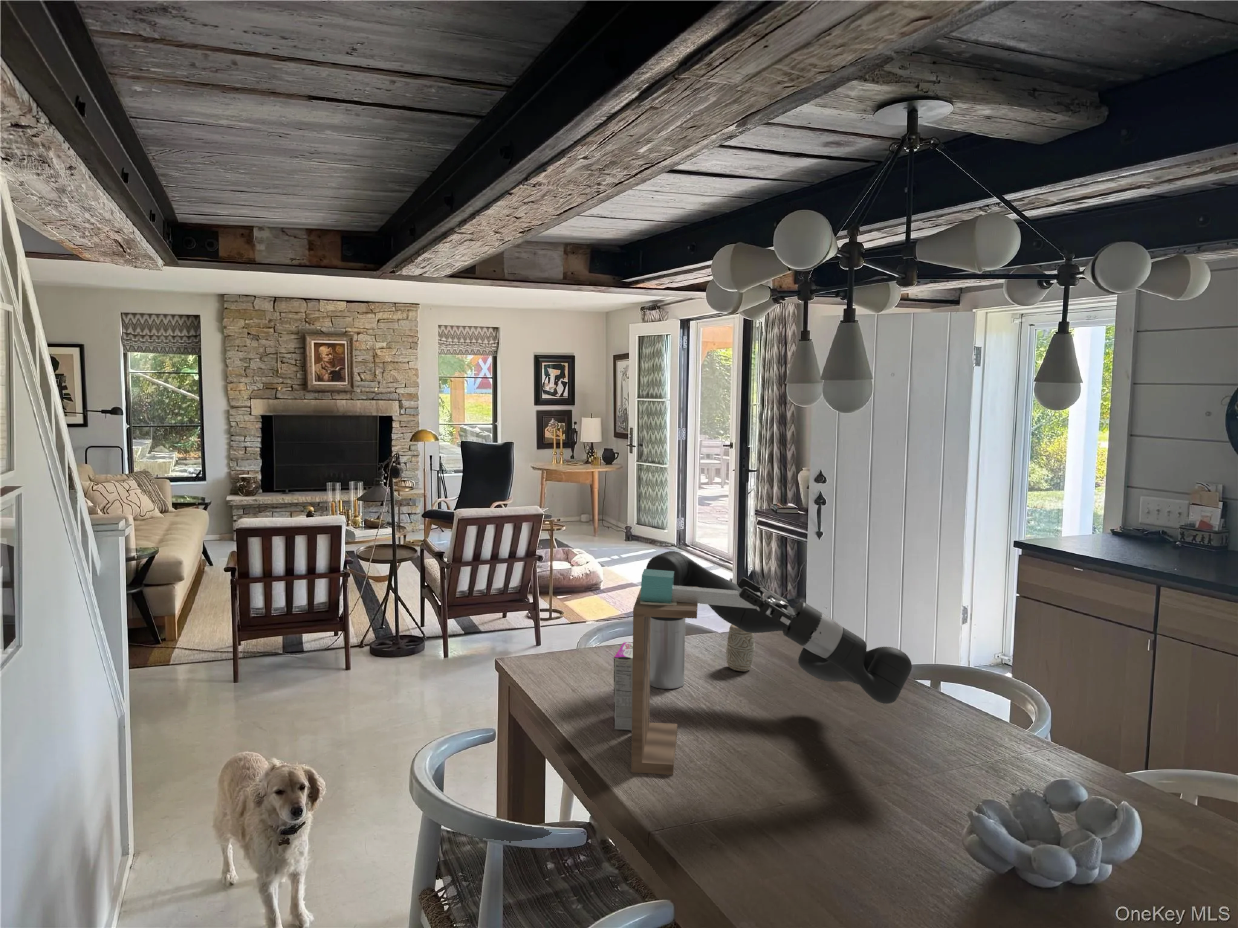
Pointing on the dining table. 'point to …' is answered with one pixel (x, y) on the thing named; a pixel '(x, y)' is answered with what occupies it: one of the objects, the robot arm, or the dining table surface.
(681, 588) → the grey and teal bar
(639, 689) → the bracket shelf
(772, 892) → the dining table surface
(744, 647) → the carving
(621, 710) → the candy bar box
